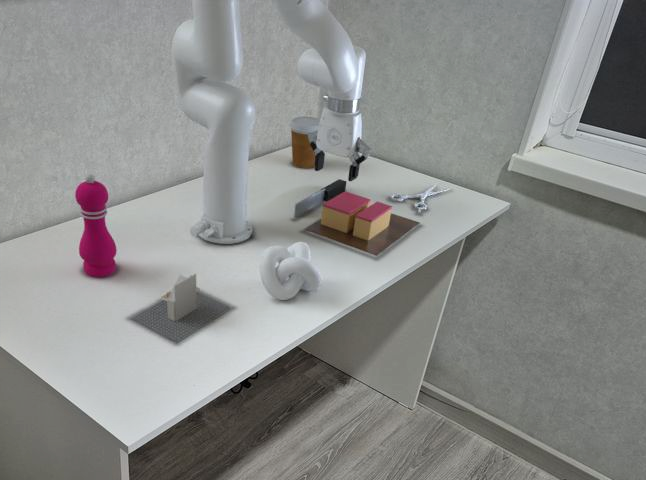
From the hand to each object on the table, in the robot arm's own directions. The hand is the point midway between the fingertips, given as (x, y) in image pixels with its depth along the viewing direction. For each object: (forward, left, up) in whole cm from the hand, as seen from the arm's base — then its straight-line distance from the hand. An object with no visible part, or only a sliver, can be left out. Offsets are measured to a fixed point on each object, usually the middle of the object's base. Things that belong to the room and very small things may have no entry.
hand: (335, 174), depth 161 cm
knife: (-6, 0, -6) cm, 9 cm away
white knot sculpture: (-45, -17, -6) cm, 49 cm away
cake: (-11, -10, -5) cm, 16 cm away
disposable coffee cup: (+15, +18, -6) cm, 24 cm away
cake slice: (-11, -17, -5) cm, 21 cm away
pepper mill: (-63, +16, -6) cm, 66 cm away
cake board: (-10, -15, -6) cm, 19 cm away
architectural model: (-64, -7, -6) cm, 65 cm away
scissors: (+17, -18, -6) cm, 25 cm away
